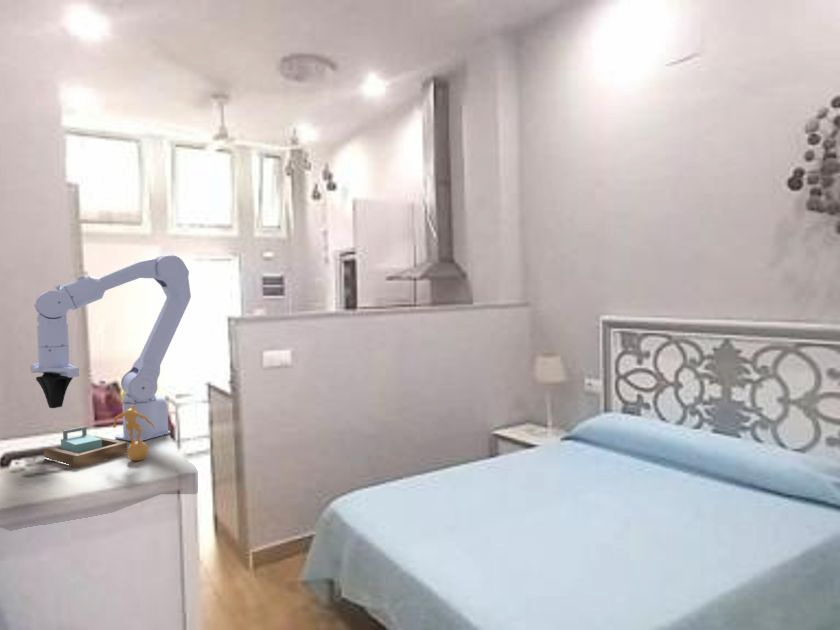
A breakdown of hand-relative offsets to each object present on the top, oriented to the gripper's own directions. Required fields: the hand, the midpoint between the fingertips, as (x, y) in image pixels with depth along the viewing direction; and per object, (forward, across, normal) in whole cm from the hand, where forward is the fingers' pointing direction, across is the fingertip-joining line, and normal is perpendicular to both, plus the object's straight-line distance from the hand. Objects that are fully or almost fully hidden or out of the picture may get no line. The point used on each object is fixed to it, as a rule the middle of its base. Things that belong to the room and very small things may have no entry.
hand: (55, 407), depth 127 cm
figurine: (+10, +23, +2) cm, 25 cm away
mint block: (+9, +10, -1) cm, 14 cm away
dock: (+9, +10, 0) cm, 14 cm away
